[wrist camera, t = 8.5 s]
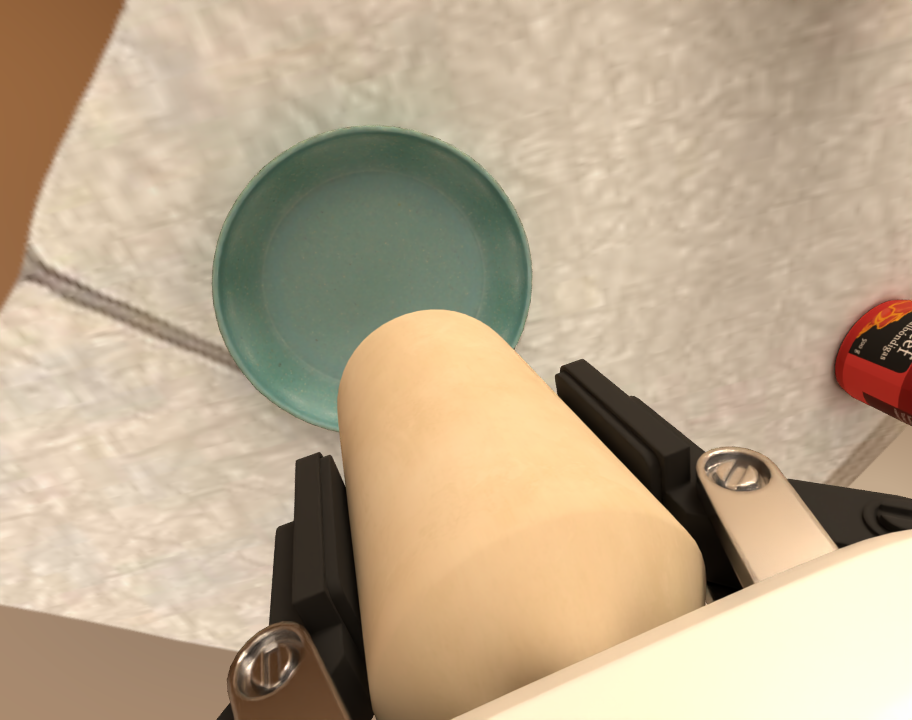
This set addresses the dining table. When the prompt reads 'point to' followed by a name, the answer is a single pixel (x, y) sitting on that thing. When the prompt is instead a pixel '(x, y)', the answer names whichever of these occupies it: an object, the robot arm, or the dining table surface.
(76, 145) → the dining table surface
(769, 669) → the robot arm
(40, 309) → the dining table surface
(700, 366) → the dining table surface
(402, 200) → the saucer
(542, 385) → the candle
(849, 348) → the canned food
